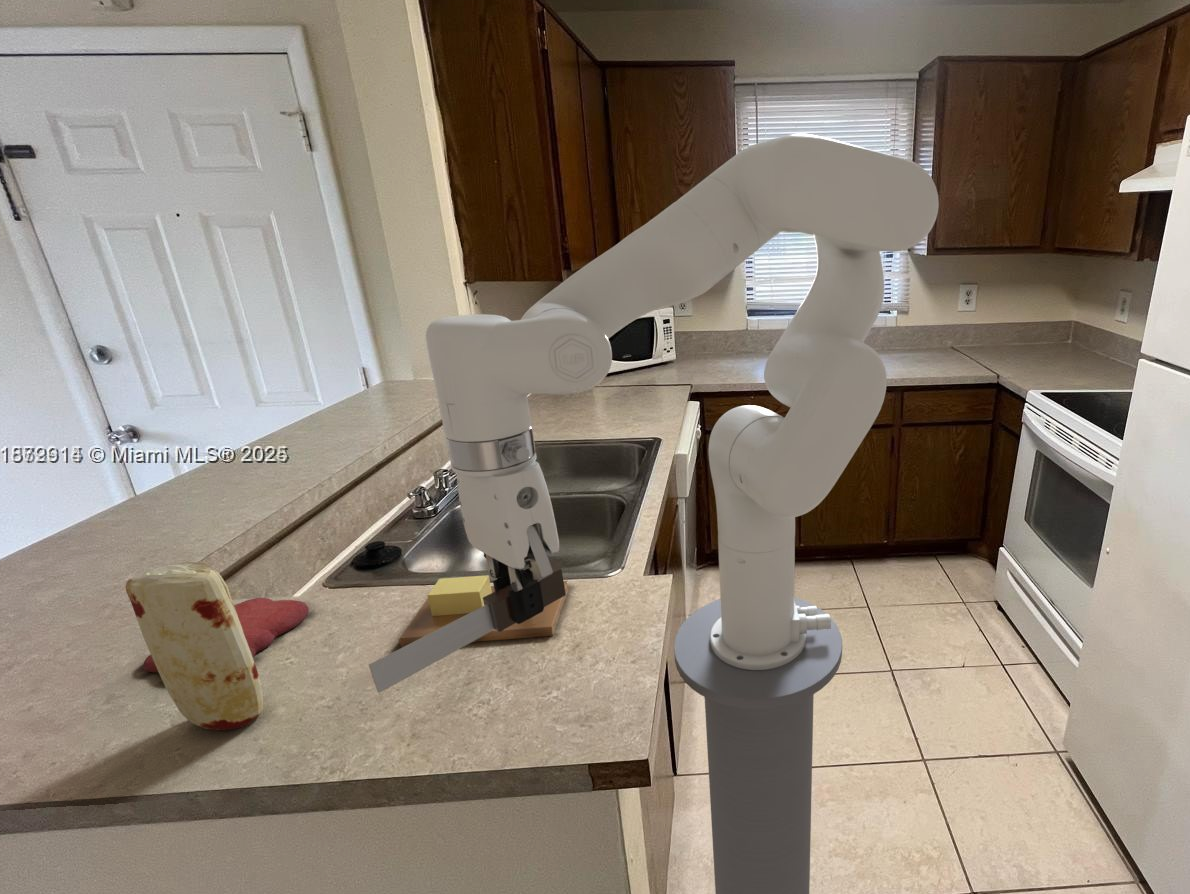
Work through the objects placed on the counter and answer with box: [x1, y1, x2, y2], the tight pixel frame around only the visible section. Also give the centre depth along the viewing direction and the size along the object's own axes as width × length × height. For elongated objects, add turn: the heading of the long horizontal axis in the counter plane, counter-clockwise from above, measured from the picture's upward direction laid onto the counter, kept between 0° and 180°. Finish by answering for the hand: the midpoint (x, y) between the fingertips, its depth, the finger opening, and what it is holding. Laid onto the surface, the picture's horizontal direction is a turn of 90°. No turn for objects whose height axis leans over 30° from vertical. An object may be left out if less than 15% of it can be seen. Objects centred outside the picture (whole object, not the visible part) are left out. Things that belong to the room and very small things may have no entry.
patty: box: [142, 597, 310, 674], centre depth 84 cm, size 18×14×2 cm
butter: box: [427, 574, 492, 616], centre depth 89 cm, size 7×4×4 cm, turn 97°
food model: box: [125, 561, 264, 731], centre depth 67 cm, size 10×7×20 cm
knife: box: [368, 563, 566, 694], centre depth 60 cm, size 19×2×3 cm, turn 143°
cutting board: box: [398, 580, 570, 648], centre depth 89 cm, size 20×12×2 cm, turn 97°
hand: (521, 611), depth 64 cm, fingers closed on knife, 2 cm apart
